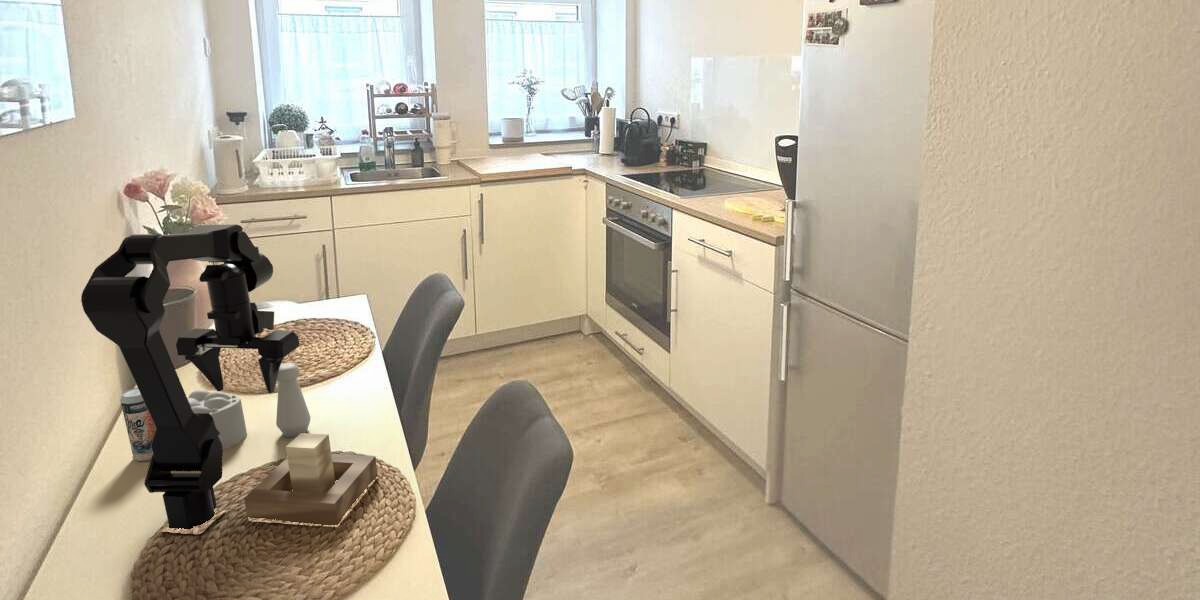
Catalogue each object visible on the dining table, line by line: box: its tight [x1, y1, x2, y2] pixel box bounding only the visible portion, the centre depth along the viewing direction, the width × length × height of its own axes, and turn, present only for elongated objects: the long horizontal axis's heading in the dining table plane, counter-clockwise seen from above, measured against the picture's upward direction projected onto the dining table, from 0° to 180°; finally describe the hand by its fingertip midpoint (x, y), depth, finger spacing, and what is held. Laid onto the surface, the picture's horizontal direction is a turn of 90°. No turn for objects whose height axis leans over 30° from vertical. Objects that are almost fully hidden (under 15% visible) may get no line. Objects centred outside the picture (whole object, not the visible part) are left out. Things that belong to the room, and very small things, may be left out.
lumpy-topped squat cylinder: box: [186, 389, 248, 451], centre depth 141 cm, size 10×13×9 cm
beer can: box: [119, 387, 156, 462], centre depth 136 cm, size 5×5×12 cm
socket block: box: [243, 453, 379, 525], centre depth 122 cm, size 14×14×4 cm
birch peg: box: [285, 432, 335, 493], centre depth 122 cm, size 4×4×10 cm
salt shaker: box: [275, 362, 311, 438], centre depth 143 cm, size 6×6×13 cm
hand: (246, 391), depth 133 cm, fingers open, 9 cm apart
